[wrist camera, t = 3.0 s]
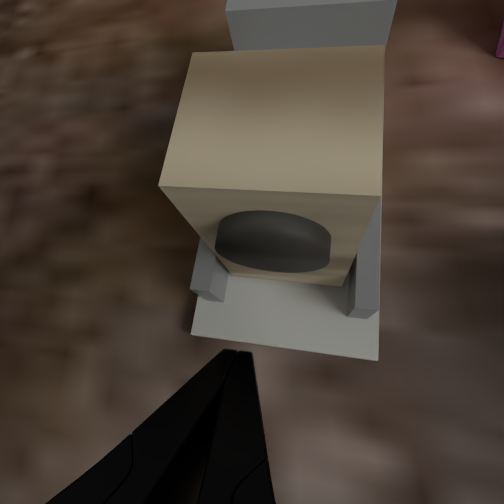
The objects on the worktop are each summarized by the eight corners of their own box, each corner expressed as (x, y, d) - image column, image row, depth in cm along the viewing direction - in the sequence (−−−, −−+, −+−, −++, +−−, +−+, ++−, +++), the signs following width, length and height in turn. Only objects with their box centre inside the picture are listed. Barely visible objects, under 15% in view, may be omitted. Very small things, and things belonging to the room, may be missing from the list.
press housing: (375, 361, 17) (415, 358, 11) (195, 335, 19) (138, 321, 13) (381, 89, 22) (410, -19, 16) (241, 91, 24) (218, -4, 18)
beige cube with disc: (340, 301, 17) (380, 225, 8) (231, 289, 18) (151, 211, 9) (346, 203, 19) (384, 45, 10) (246, 197, 20) (192, 52, 11)
